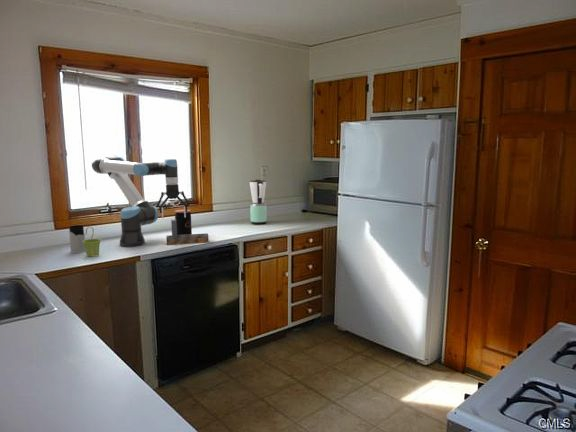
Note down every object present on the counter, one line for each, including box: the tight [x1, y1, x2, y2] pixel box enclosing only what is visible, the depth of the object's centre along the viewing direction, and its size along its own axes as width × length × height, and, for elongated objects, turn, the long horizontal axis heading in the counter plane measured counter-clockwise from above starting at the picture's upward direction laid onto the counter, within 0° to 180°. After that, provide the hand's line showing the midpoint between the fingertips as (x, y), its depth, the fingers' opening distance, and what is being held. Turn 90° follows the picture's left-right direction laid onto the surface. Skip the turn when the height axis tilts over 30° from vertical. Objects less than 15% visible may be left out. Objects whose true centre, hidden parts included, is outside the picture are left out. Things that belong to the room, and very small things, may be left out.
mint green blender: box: [249, 179, 268, 226], centre depth 347 cm, size 19×13×35 cm
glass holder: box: [68, 224, 95, 254], centre depth 259 cm, size 9×14×15 cm, turn 138°
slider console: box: [165, 232, 210, 246], centre depth 281 cm, size 26×10×4 cm, turn 104°
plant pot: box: [83, 238, 102, 258], centre depth 247 cm, size 9×9×9 cm
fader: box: [170, 219, 177, 237], centre depth 278 cm, size 3×5×11 cm, turn 14°
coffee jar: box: [174, 208, 193, 235], centre depth 299 cm, size 11×11×18 cm
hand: (174, 217), depth 277 cm, fingers open, 13 cm apart
